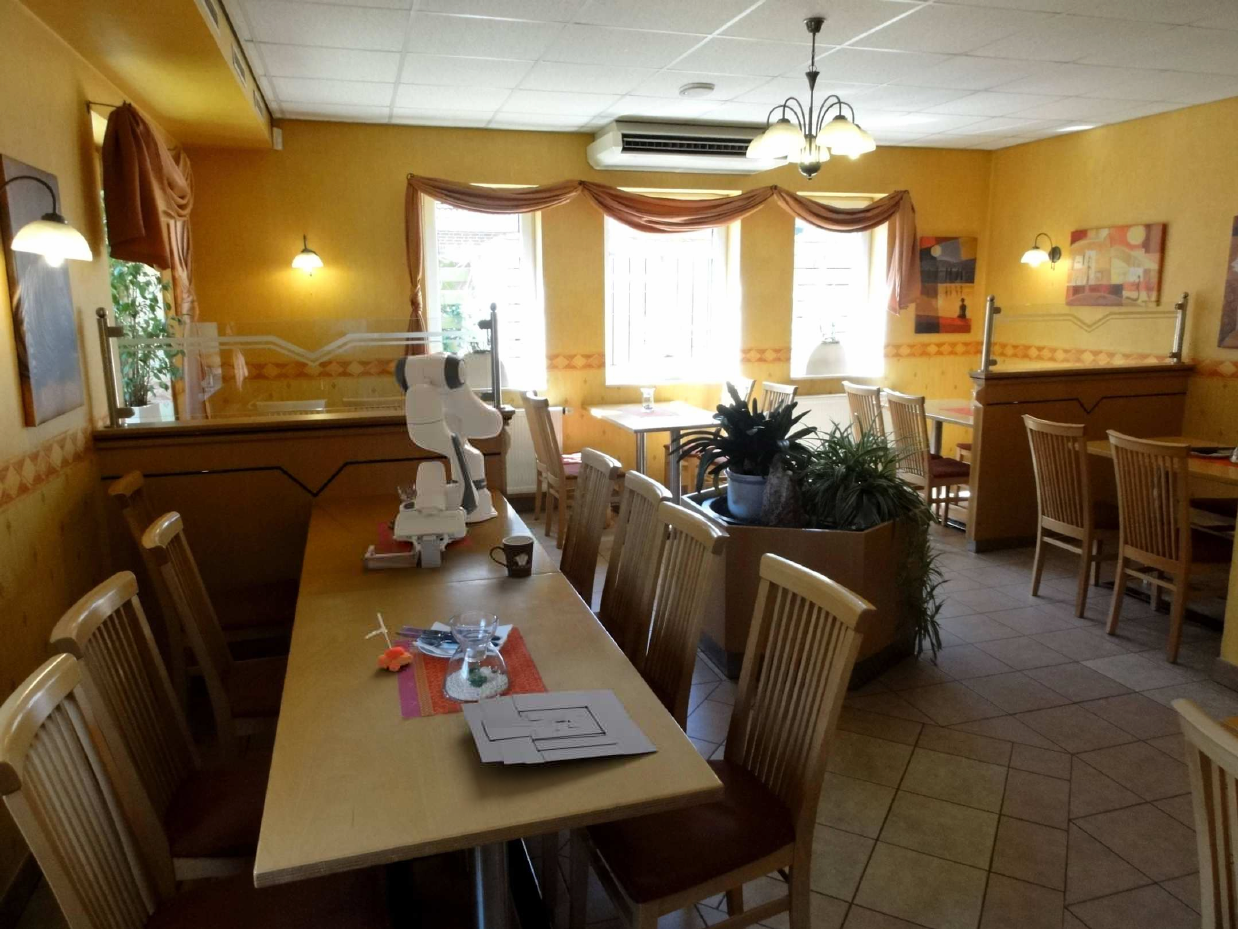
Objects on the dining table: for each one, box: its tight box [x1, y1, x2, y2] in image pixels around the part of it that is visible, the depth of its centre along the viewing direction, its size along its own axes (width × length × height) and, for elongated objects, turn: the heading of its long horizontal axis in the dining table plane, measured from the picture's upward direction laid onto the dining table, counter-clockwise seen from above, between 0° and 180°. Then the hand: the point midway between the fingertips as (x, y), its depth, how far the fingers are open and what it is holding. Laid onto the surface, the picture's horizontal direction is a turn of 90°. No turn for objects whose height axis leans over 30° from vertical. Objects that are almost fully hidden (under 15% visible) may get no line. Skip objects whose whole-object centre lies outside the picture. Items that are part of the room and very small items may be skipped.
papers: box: [460, 689, 659, 765], centre depth 149 cm, size 24×30×4 cm
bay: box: [363, 544, 420, 571], centre depth 245 cm, size 12×14×4 cm
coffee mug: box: [489, 534, 535, 579], centre depth 232 cm, size 12×9×10 cm
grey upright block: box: [419, 535, 442, 569], centre depth 240 cm, size 4×5×9 cm
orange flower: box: [364, 612, 414, 672], centre depth 176 cm, size 6×10×12 cm, turn 116°
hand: (430, 550), depth 240 cm, fingers closed on grey upright block, 5 cm apart
